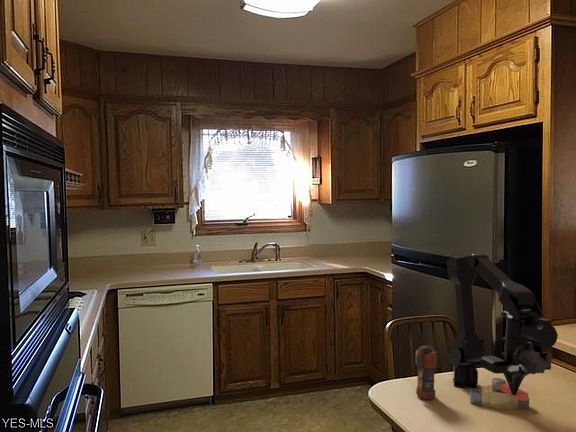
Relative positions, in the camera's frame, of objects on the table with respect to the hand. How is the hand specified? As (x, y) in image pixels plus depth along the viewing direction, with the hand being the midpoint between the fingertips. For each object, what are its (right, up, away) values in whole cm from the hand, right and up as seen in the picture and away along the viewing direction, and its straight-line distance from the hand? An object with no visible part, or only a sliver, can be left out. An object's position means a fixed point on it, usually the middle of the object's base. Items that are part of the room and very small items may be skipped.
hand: (513, 394), depth 128 cm
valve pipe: (-1, -5, +7) cm, 9 cm away
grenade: (-21, -5, +11) cm, 24 cm away
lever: (0, -1, +3) cm, 3 cm away
